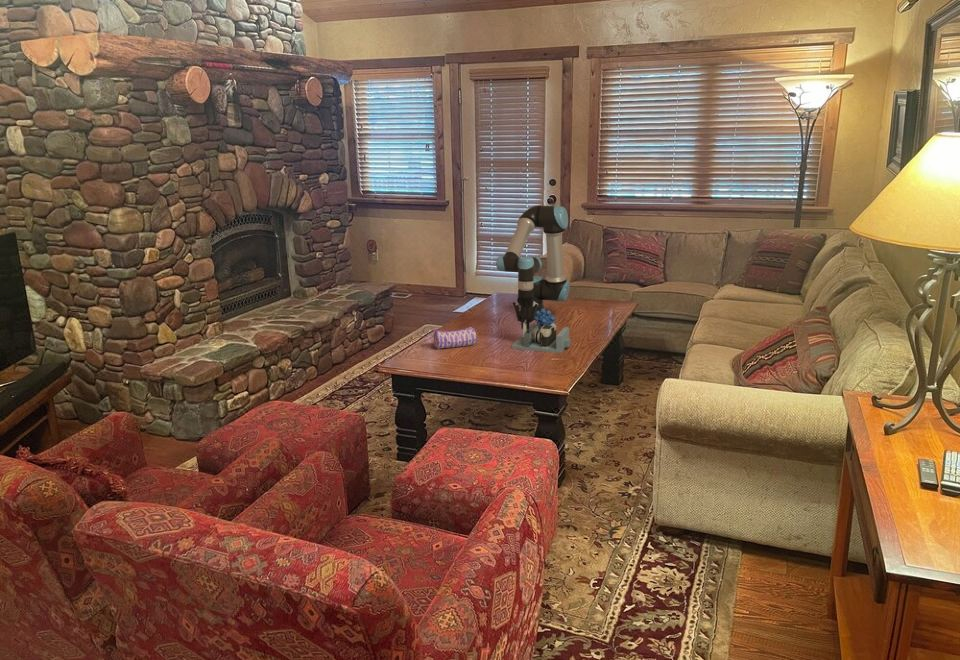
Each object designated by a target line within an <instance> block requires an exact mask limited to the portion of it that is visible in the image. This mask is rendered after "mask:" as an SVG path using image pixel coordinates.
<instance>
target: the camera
mask: <svg viewBox="0 0 960 660" xmlns="http://www.w3.org/2000/svg"><path fill="white" fill-rule="evenodd" d="M555 324H556V323H555ZM555 324H550V326H548V325H544V326H543V327H542V326H541V327H540V329H539V330H538V331H536V333H535V341H536V342H540V343H541V345H542V348H549V347H550V346H551V345H552V344H553V343H554V342H555V341H556V336H557V324H556V325H555Z"/></svg>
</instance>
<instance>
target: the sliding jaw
mask: <svg viewBox="0 0 960 660" xmlns="http://www.w3.org/2000/svg"><path fill="white" fill-rule="evenodd" d="M538 330H539V331H540V330H541V327H538V325H537V324H532V325H531V326H529V329H528V330H527V331H526V332H525V333H524V336H523V337H524V346H526V347H529V346H530V345H531V344H532V343H533V342H534V341H535V333H536V331H538Z"/></svg>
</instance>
